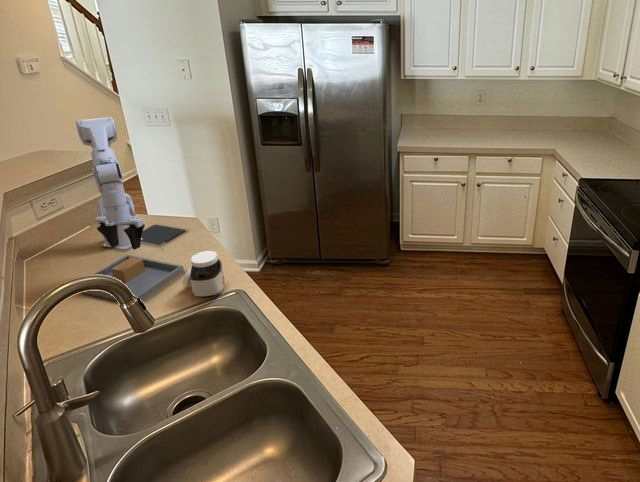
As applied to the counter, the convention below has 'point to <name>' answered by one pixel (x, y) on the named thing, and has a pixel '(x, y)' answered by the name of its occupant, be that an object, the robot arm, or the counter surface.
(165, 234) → the mat
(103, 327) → the counter surface
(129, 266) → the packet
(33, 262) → the counter surface
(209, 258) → the spread jar
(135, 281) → the tray
